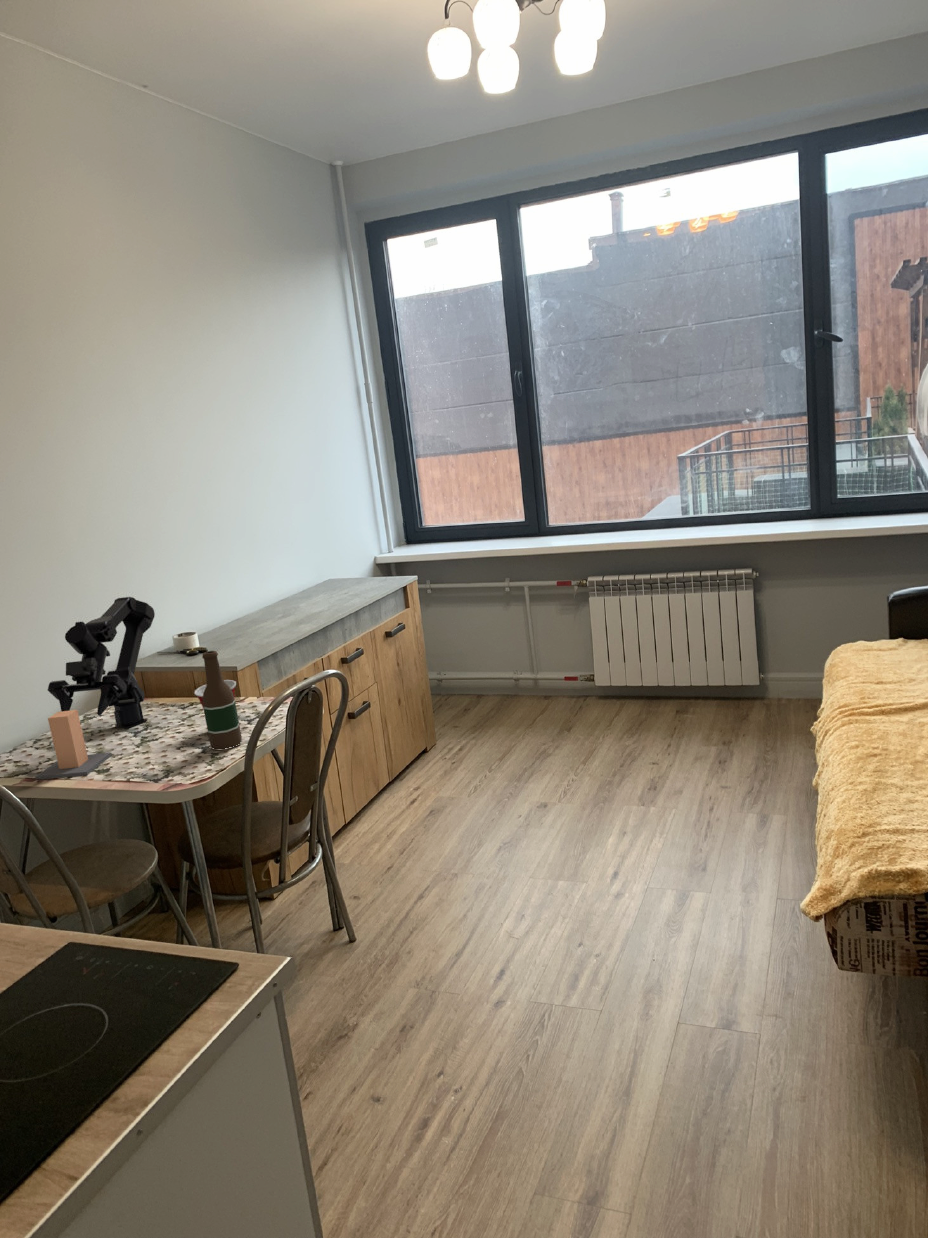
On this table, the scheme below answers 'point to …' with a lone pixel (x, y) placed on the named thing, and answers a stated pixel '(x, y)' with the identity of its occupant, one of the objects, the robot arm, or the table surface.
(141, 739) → the table surface
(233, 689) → the plastic cup
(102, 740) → the table surface
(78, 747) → the block
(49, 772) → the mat
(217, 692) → the beer bottle
